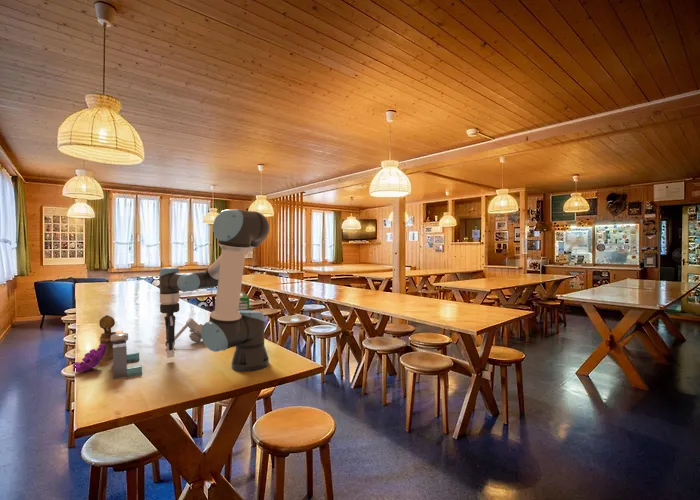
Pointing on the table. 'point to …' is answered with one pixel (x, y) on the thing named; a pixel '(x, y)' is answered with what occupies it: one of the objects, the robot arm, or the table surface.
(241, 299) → the milk carton
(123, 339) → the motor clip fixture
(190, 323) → the valve
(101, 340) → the brown disc topped figure
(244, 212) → the robot arm
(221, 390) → the table surface
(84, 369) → the purple toothed curved piece
